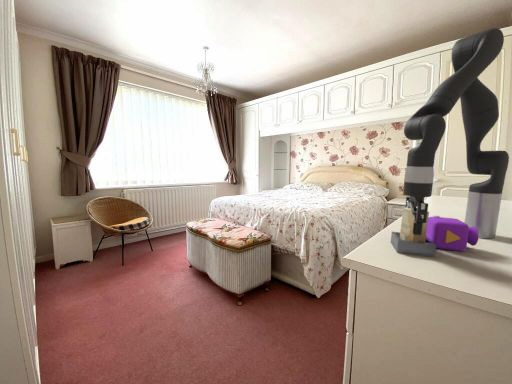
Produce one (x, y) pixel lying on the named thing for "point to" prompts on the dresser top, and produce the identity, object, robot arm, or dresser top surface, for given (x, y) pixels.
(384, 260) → the dresser top surface
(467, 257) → the dresser top surface
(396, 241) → the tray
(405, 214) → the skincare box
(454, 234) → the toy camera
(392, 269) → the dresser top surface
